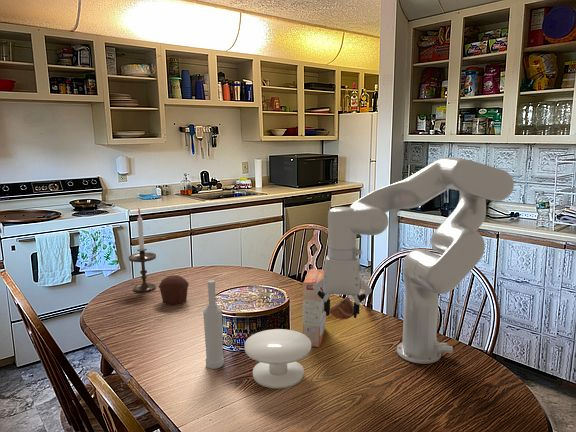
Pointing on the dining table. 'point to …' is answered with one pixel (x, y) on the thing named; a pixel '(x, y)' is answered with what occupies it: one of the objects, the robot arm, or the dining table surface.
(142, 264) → the candlestick
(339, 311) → the fruit slice
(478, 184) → the robot arm
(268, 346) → the cake stand
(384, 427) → the dining table surface
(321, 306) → the cracker box
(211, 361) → the bottle
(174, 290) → the muffin
